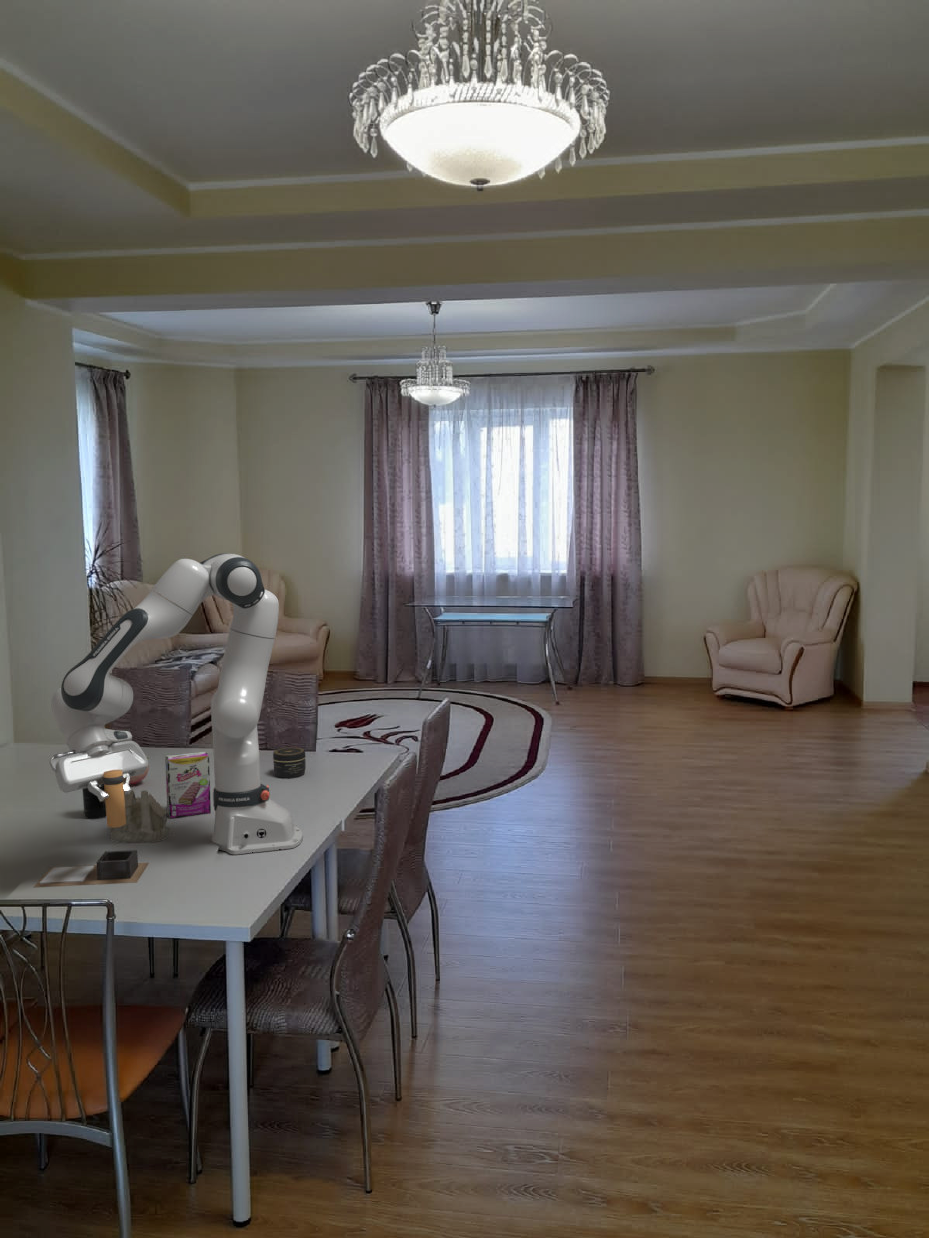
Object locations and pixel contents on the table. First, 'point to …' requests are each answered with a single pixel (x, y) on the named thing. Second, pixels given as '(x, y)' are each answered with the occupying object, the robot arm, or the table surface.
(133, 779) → the decorative fruit
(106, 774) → the orange cylindrical peg
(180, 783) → the candy bar box
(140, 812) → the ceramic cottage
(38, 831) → the table surface
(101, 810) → the supplement bottle
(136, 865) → the board with square socket
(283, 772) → the jar
